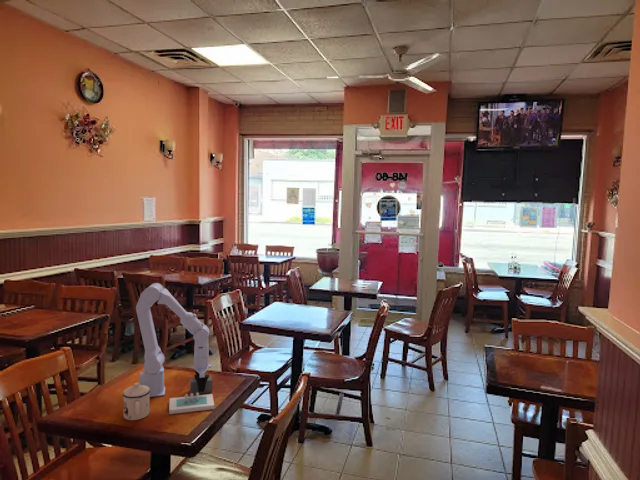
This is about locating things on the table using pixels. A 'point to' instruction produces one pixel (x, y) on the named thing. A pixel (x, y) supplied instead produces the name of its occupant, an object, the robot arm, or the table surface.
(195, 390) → the block
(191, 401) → the pin board
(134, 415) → the teacup with lid
